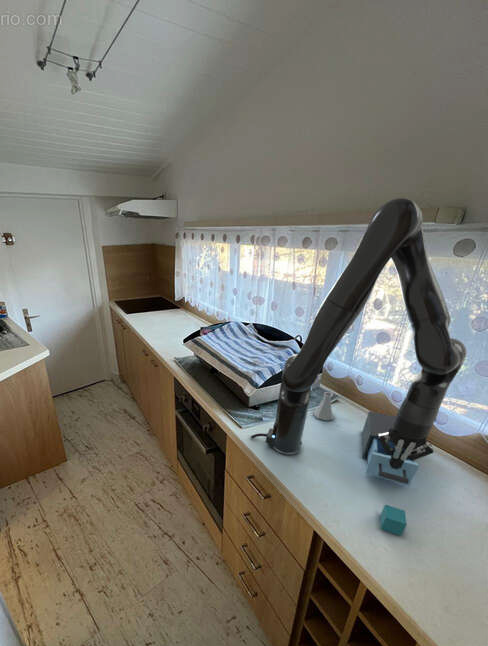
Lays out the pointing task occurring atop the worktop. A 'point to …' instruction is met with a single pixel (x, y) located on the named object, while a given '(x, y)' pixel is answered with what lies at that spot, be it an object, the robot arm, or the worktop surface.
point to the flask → (325, 408)
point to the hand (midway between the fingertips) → (393, 466)
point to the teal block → (393, 520)
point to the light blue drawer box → (388, 464)
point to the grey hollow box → (375, 429)
